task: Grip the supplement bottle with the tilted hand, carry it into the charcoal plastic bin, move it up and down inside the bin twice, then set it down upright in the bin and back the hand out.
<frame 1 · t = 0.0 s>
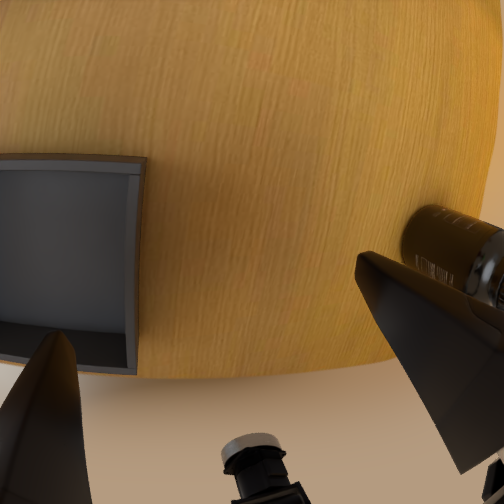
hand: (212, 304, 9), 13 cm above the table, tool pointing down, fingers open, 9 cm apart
bin: (49, 250, 19), on the table
supplement bottle: (424, 237, 27), on the table
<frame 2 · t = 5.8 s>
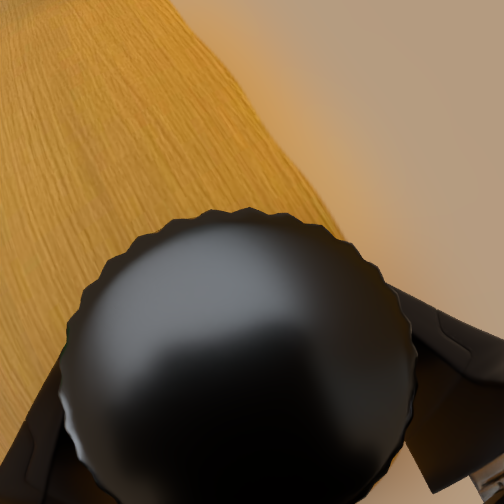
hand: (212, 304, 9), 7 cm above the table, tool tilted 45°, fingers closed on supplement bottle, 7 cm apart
supplement bottle: (216, 333, 15), on the table, touching gripper
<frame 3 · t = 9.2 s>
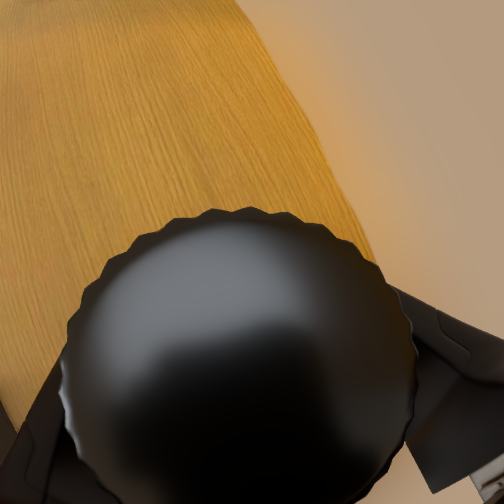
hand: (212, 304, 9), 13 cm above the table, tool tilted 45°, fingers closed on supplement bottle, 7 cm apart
supplement bottle: (216, 332, 15), point 6 cm above the table, touching gripper
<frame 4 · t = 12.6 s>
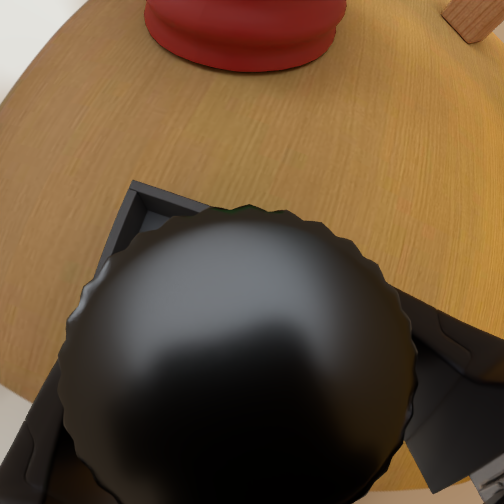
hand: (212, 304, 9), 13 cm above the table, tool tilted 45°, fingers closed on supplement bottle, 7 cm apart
decorative item: (460, 28, 33), on the table
bin: (200, 323, 21), on the table
supplement bottle: (216, 332, 15), point 6 cm above the table, touching gripper
table lamp: (241, 11, 27), on the table
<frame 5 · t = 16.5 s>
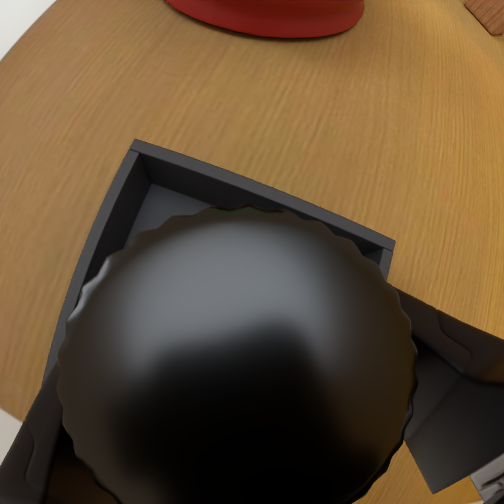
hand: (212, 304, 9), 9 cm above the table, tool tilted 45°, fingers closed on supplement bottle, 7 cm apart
decorative item: (483, 20, 29), on the table
bin: (213, 324, 17), on the table
supplement bottle: (216, 332, 15), point 2 cm above the table, touching gripper
when the fingers open (7 cm above the table, at t = 19.8 s): supplement bottle stays where it is, resting on bin.
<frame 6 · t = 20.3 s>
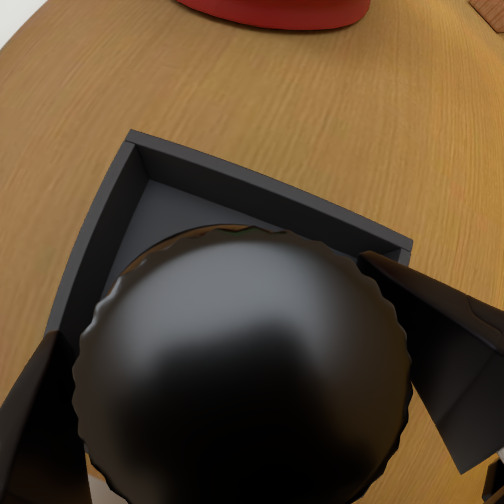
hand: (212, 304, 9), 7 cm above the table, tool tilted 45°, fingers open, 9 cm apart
decorative item: (488, 18, 28), on the table
bin: (216, 332, 16), on the table
supplement bottle: (217, 335, 15), resting on bin
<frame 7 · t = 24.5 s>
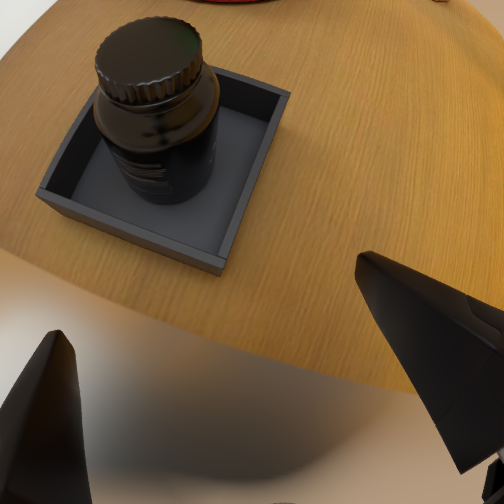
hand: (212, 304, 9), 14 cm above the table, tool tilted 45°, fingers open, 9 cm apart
bin: (169, 162, 23), on the table
supplement bottle: (169, 163, 23), resting on bin
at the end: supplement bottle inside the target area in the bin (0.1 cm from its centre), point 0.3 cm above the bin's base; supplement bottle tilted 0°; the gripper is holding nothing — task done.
